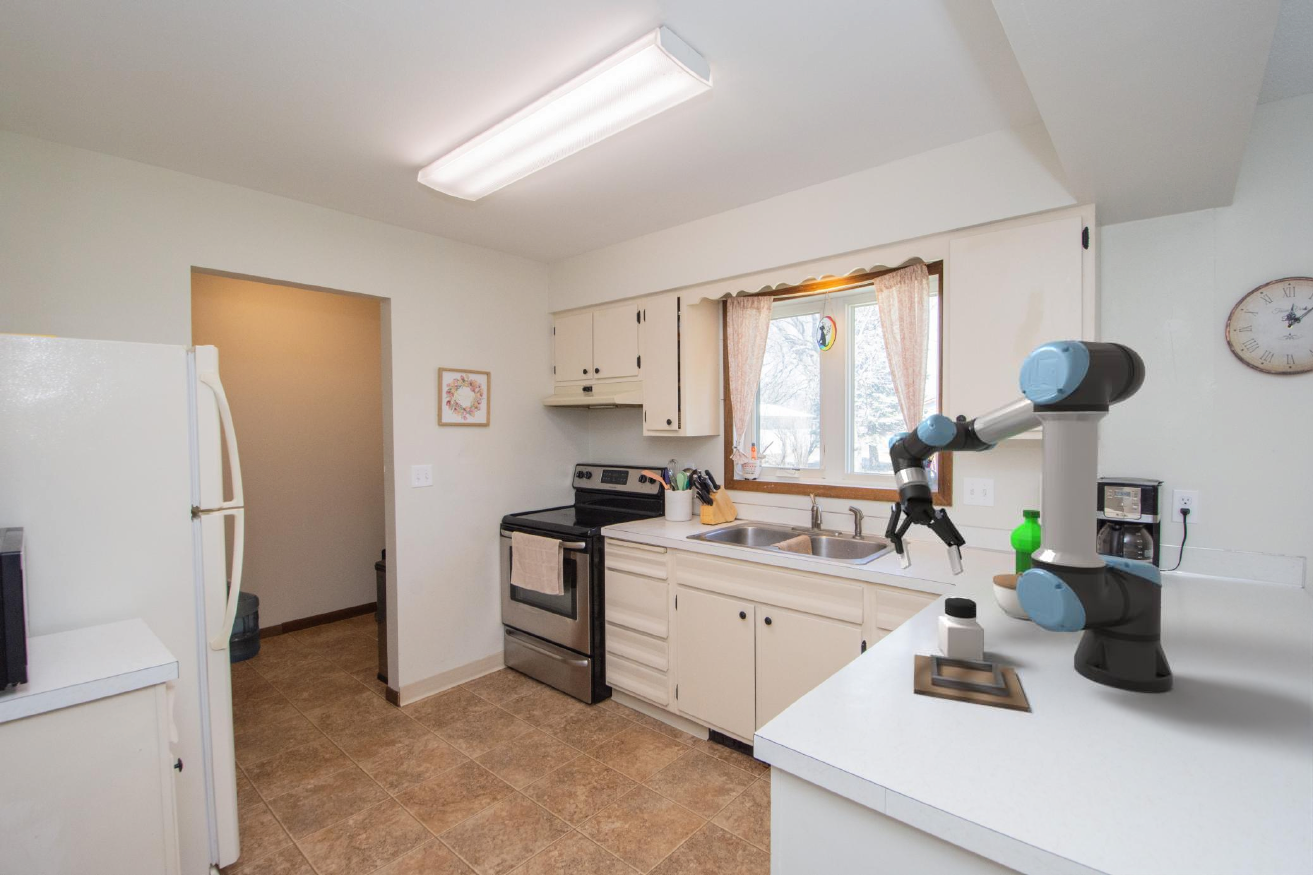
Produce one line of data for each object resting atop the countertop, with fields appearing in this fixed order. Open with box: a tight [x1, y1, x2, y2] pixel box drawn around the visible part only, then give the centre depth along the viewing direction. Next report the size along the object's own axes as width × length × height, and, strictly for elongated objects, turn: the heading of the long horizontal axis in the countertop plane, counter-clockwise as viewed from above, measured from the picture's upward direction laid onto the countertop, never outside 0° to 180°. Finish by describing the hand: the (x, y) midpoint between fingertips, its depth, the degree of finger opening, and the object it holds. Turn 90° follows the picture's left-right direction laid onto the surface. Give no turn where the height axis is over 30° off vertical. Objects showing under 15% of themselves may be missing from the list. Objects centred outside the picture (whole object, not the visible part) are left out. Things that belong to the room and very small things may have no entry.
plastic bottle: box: [1010, 509, 1041, 575], centre depth 167 cm, size 10×10×25 cm
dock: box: [913, 654, 1029, 713], centre depth 113 cm, size 18×18×2 cm
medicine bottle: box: [938, 596, 985, 662], centre depth 126 cm, size 7×7×12 cm
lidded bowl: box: [992, 572, 1031, 620], centre depth 153 cm, size 13×13×11 cm
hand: (932, 570), depth 137 cm, fingers open, 13 cm apart
